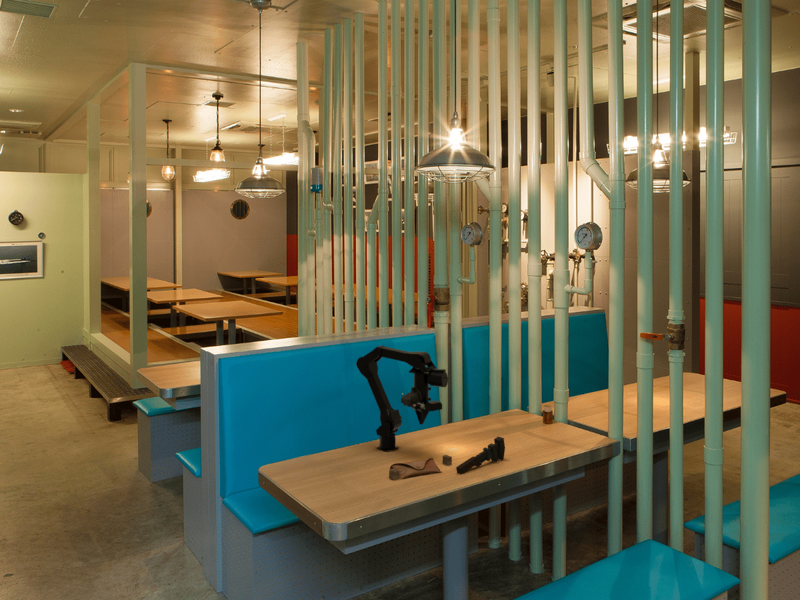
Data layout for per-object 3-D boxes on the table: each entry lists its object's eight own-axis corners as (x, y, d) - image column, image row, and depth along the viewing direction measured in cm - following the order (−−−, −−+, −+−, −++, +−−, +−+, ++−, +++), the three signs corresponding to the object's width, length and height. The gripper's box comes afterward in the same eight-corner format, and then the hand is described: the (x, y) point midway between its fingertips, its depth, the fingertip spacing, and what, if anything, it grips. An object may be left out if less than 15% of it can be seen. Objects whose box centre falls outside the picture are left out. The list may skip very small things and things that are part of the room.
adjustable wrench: (458, 485, 235) (500, 456, 251) (463, 487, 233) (506, 458, 249) (454, 463, 233) (498, 436, 249) (460, 465, 231) (503, 437, 247)
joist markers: (389, 478, 228) (389, 469, 228) (446, 462, 245) (446, 454, 245) (394, 480, 226) (394, 472, 226) (451, 464, 243) (451, 456, 242)
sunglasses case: (400, 480, 226) (395, 461, 229) (392, 484, 232) (388, 466, 234) (444, 472, 234) (439, 454, 237) (436, 476, 240) (431, 459, 242)
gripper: (390, 383, 255) (390, 422, 256) (420, 391, 240) (420, 433, 242) (412, 380, 262) (412, 418, 263) (443, 387, 247) (443, 428, 249)
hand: (421, 424), depth 254 cm, fingers closed
